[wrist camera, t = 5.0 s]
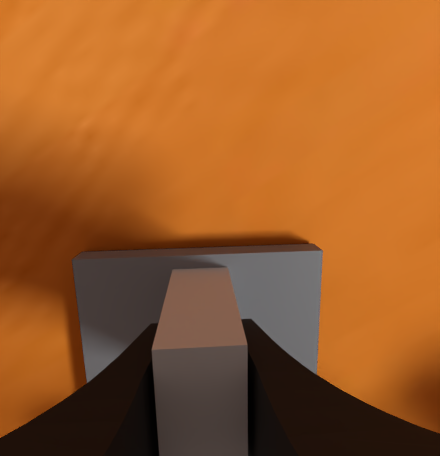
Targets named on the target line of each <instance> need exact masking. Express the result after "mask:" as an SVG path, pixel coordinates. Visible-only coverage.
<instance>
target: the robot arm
mask: <svg viewBox="0 0 440 456" xmlns="http://www.w3.org/2000/svg"><path fill="white" fill-rule="evenodd" d="M241 321H242V325H243V329H244V333H245V337H246V341H247V345H248V456H440V434H439V433H436V432H433V431H430V430H428V429H425V428H422V427H419V426H417V425H414V424H412V423H409V422H407V421H405V420H402V419H400V418H398V417H395V416H393V415H390V414H388V413H386V412H384V411H381V410H379V409H377V408H375V407H373V406H371V405H369V404H367V403H365V402H363V401H361V400H359V399H357V398H355V397H353V396H351V395H350V394H348V393H346V392H344V391H342V390H340V389H339V388H337V387H335V386H334V385H332V384H330V383H329V382H327V381H326V380H324V379H323V378H321V377H319V376H318V375H316V374H315V373H313V372H312V371H310V370H309V369H308V368H306V367H305V366H303V365H302V364H301V363H300V362H298V361H297V360H296V359H294V358H293V357H292V356H291V355H289V354H288V353H287V352H286V351H285V350H283V349H282V348H281V347H280V346H279V345H278V344H277V343H276V342H274V341H273V340H272V339H271V338H270V337H269V336H268V335H267V334H266V333H265V332H264V331H263V330H262V329H261V328H260V327H259V326H258V325H257V324H256V323H255V322H254V321H253V320H252V319H241ZM157 327H158V323H151V324H150V325H149V326H148V327H147V328H146V329H145V330H144V331H143V332H142V333H141V334H140V335H139V336H138V337H137V338H136V339H135V340H134V341H133V342H132V343H131V344H130V345H129V346H128V347H127V348H126V349H125V350H124V351H123V352H122V353H121V354H120V355H119V356H118V357H117V358H116V359H115V360H114V361H113V362H111V363H110V364H109V365H108V366H107V367H106V368H105V369H103V370H102V371H101V372H100V373H99V374H98V375H97V376H95V377H94V378H93V379H92V380H90V381H89V382H88V383H87V384H85V385H84V386H83V387H81V388H80V389H78V390H77V391H76V392H74V393H73V394H72V395H70V396H69V397H67V398H66V399H64V400H63V401H62V402H60V403H58V404H57V405H55V406H54V407H52V408H50V409H49V410H47V411H46V412H44V413H42V414H41V415H39V416H38V417H36V418H34V419H33V420H31V421H30V422H28V423H26V424H25V425H23V426H21V427H19V428H18V429H16V430H14V431H12V432H10V433H8V434H7V435H5V436H3V437H1V438H0V456H159V445H158V431H157V418H156V404H155V390H154V376H153V362H152V346H153V343H154V339H155V335H156V331H157Z"/></svg>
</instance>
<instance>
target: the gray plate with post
mask: <svg viewBox="0 0 440 456" xmlns="http://www.w3.org/2000/svg"><path fill="white" fill-rule="evenodd" d="M322 254H323V250H321V249H320V248H319V247H317V246H316V245H315V244H287V245H259V246H230V247H202V248H174V249H145V250H117V251H89V252H81V253H80V254H79V255H77V256H76V257H75V258H73V259H72V265H73V273H74V282H75V290H76V298H77V306H78V314H79V322H80V330H81V339H82V347H83V355H84V363H85V371H86V379H87V383H88V382H89V381H90V380H92V379H93V378H94V377H95V376H97V375H98V374H99V373H100V372H101V371H102V370H103V369H105V368H106V367H107V366H108V365H109V364H110V363H111V362H113V361H114V360H115V359H116V358H117V357H118V356H119V355H120V354H121V353H122V352H123V351H124V350H125V349H126V348H127V347H128V346H129V345H130V344H131V343H132V342H133V341H134V340H135V339H136V338H137V337H138V336H139V335H140V334H141V333H142V332H143V331H144V330H145V329H146V328H147V327H148V326H149V325H150V324H151V323H158V327H157V331H156V335H155V339H154V343H153V346H152V362H153V376H154V390H155V404H156V418H157V431H158V445H159V456H248V345H247V341H246V337H245V333H244V329H243V325H242V321H241V319H252V320H253V321H254V322H255V323H256V324H257V325H258V326H259V327H260V328H261V329H262V330H263V331H264V332H265V333H266V334H267V335H268V336H269V337H270V338H271V339H272V340H273V341H274V342H276V343H277V344H278V345H279V346H280V347H281V348H282V349H283V350H285V351H286V352H287V353H288V354H289V355H291V356H292V357H293V358H294V359H296V360H297V361H298V362H300V363H301V364H302V365H303V366H305V367H306V368H308V369H309V370H310V371H312V372H313V373H315V374H316V375H317V356H318V336H319V315H320V295H321V274H322Z"/></svg>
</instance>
